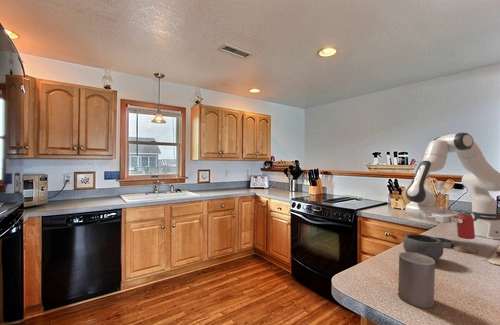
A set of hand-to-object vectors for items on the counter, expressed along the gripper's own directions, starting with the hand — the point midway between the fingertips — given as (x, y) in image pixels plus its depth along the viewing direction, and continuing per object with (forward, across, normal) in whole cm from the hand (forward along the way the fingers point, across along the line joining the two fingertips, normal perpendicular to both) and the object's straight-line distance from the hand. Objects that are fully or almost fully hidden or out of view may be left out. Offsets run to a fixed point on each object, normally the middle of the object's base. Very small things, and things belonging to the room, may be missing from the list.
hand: (467, 220), depth 122 cm
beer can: (0, 0, +9) cm, 9 cm away
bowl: (-2, -33, +16) cm, 37 cm away
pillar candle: (+17, -70, +16) cm, 74 cm away
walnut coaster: (-1, 0, +15) cm, 15 cm away
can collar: (-10, -1, +16) cm, 19 cm away
